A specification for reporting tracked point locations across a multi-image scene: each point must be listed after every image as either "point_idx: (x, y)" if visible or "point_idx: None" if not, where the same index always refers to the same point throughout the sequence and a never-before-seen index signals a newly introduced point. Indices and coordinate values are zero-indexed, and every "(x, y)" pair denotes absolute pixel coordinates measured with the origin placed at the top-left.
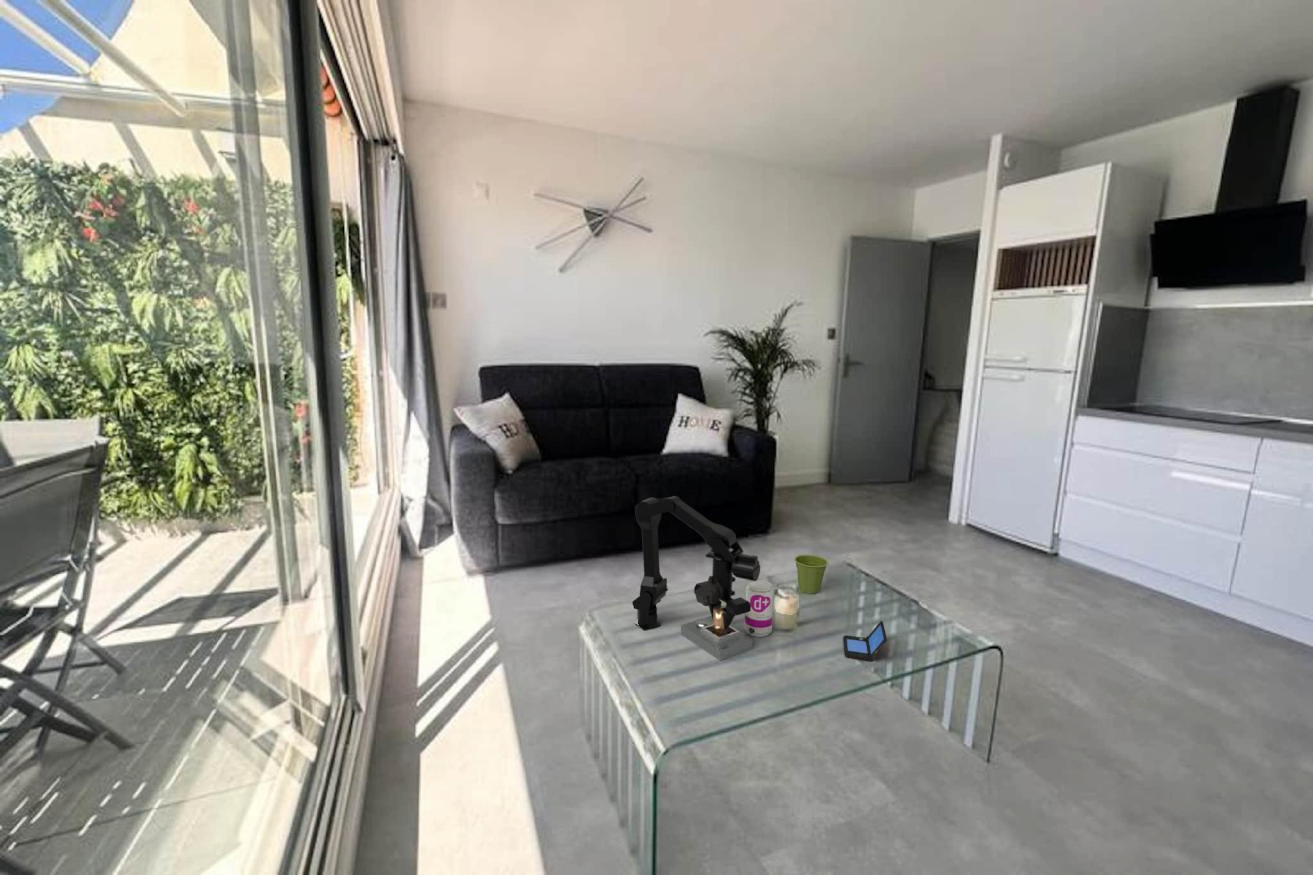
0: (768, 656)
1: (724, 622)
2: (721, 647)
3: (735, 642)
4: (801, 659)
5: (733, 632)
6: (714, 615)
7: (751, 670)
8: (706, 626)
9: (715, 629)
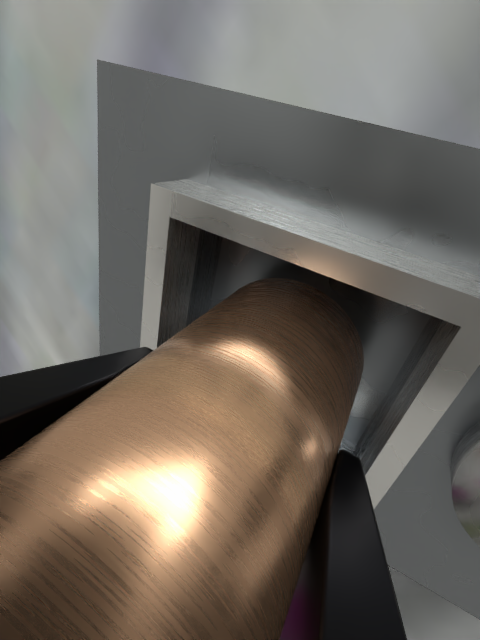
0: (68, 331)
1: (68, 379)
2: (129, 127)
3: (124, 293)
4: (10, 371)
5: None
6: (159, 470)
7: (12, 144)
8: (461, 383)
9: (257, 314)
